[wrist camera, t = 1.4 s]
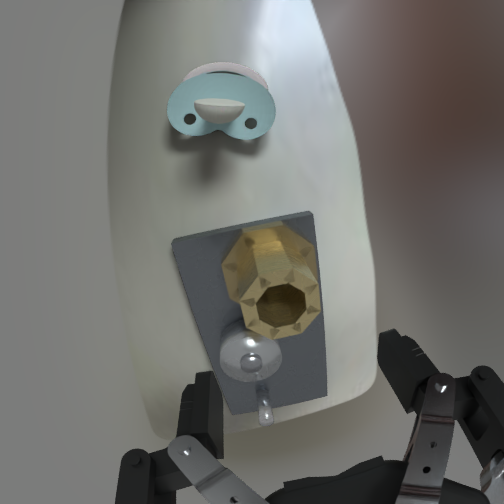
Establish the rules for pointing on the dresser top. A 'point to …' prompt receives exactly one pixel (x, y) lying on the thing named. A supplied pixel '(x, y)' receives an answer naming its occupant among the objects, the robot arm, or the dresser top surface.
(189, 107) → the pacifier
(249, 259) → the brass octagonal tube
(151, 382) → the dresser top surface
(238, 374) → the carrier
